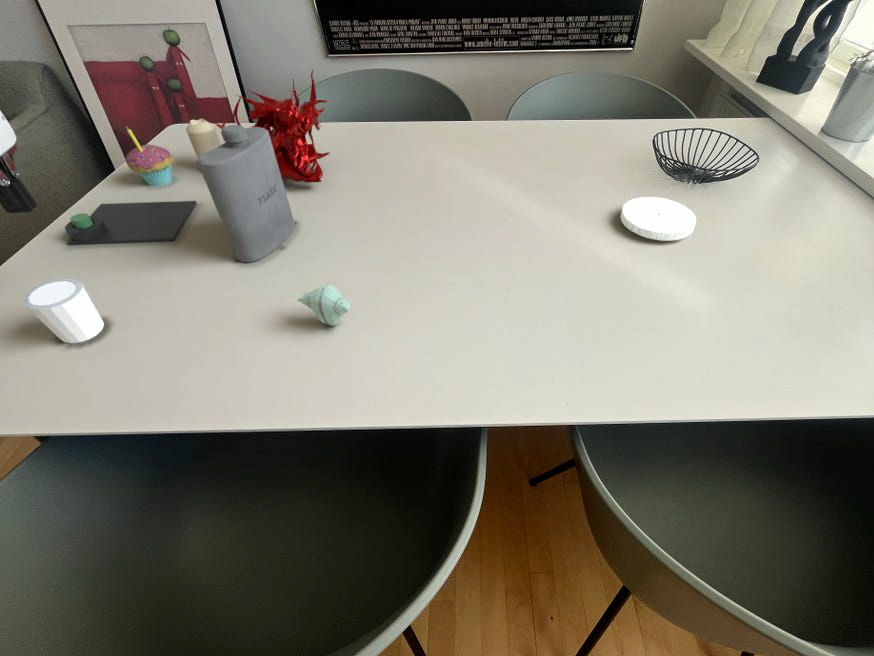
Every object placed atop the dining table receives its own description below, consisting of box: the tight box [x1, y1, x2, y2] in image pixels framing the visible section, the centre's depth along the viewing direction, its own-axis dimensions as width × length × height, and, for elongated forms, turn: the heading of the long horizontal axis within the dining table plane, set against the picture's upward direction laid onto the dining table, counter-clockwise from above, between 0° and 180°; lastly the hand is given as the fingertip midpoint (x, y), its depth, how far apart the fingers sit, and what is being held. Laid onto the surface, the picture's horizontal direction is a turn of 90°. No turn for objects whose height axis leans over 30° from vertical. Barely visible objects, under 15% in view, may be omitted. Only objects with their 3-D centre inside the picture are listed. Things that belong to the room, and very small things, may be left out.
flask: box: [196, 124, 296, 263], centre depth 81 cm, size 15×6×20 cm, turn 165°
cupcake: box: [125, 126, 174, 186], centre depth 99 cm, size 9×8×12 cm
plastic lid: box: [620, 196, 697, 242], centre depth 94 cm, size 14×14×2 cm
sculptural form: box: [212, 69, 331, 183], centre depth 104 cm, size 20×25×22 cm
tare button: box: [69, 212, 93, 229], centre depth 86 cm, size 3×3×2 cm
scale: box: [64, 200, 198, 246], centre depth 91 cm, size 18×14×2 cm
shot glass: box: [23, 277, 105, 344], centre depth 68 cm, size 7×7×7 cm
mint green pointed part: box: [296, 284, 351, 326], centre depth 71 cm, size 8×4×7 cm, turn 75°
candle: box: [185, 117, 222, 159], centre depth 105 cm, size 6×6×10 cm
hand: (23, 209), depth 66 cm, fingers closed
